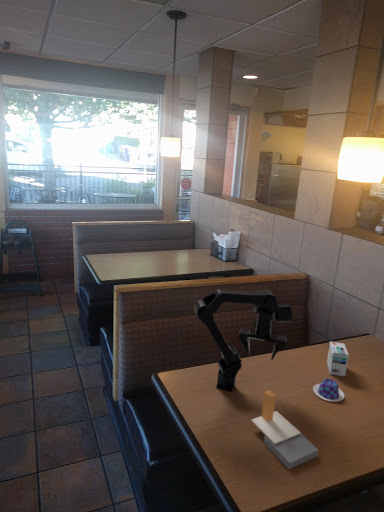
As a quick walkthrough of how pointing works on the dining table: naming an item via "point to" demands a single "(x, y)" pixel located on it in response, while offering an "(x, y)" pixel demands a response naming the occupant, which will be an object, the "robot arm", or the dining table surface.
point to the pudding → (328, 390)
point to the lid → (274, 421)
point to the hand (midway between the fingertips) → (260, 357)
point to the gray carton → (292, 450)
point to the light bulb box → (337, 359)
